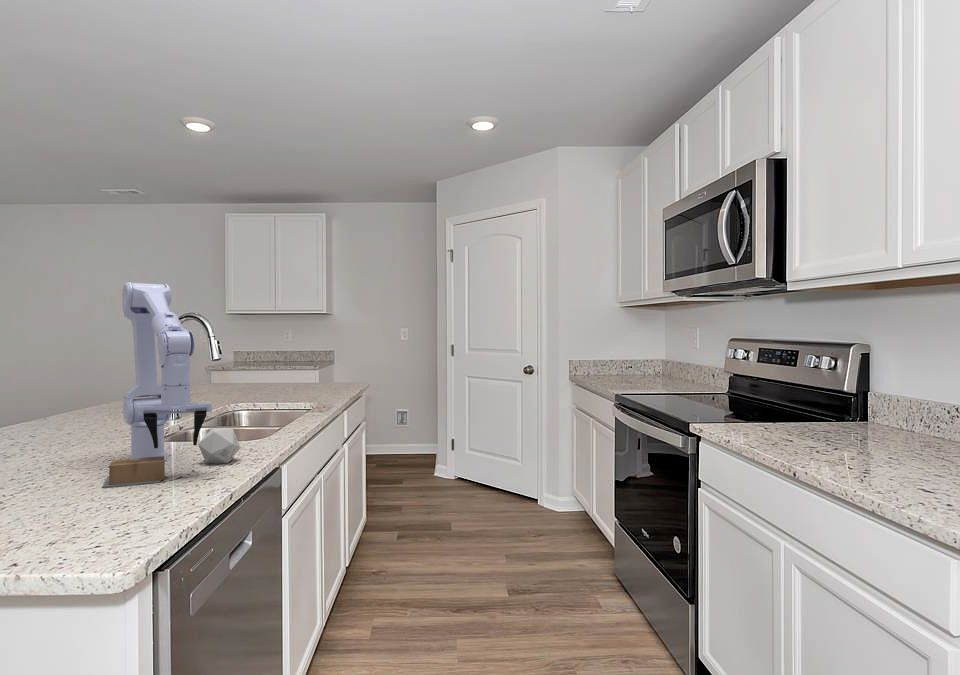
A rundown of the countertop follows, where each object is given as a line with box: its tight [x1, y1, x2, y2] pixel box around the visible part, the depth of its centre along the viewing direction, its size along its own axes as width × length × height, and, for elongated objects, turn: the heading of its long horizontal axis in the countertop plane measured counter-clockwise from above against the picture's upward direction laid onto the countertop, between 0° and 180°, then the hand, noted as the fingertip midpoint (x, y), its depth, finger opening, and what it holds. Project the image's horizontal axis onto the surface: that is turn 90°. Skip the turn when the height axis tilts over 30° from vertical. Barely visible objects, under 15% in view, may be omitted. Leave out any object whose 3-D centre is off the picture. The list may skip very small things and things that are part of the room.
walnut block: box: [108, 456, 165, 485], centre depth 128 cm, size 6×4×10 cm
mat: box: [101, 476, 162, 489], centre depth 128 cm, size 9×11×1 cm
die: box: [197, 428, 241, 464], centre depth 146 cm, size 8×9×10 cm
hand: (175, 446), depth 131 cm, fingers open, 7 cm apart
